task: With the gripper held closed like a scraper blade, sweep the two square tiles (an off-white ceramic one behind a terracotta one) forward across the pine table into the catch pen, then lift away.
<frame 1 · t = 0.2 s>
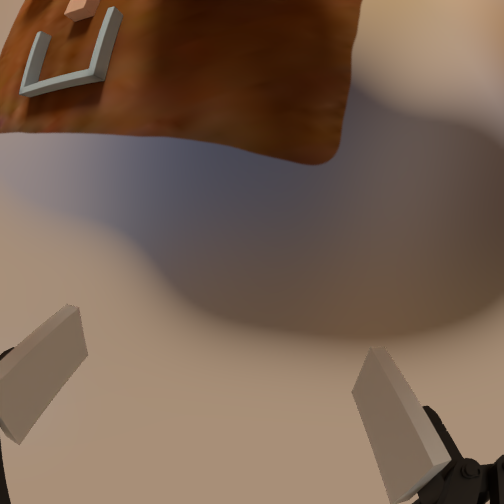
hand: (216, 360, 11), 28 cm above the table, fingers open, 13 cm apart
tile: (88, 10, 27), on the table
catch pen: (71, 55, 30), on the table
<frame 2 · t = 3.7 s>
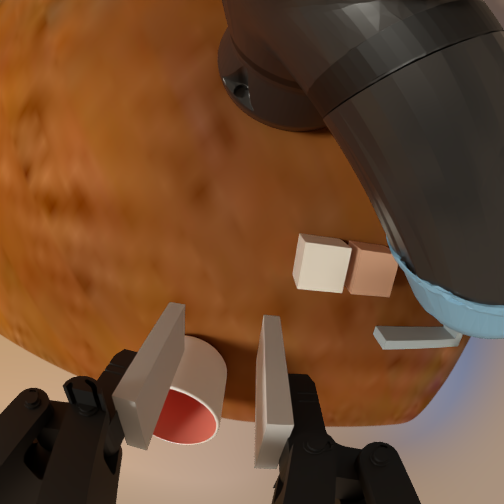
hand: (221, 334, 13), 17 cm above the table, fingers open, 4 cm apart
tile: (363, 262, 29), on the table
cup: (189, 362, 34), on the table
catch pen: (434, 271, 29), on the table
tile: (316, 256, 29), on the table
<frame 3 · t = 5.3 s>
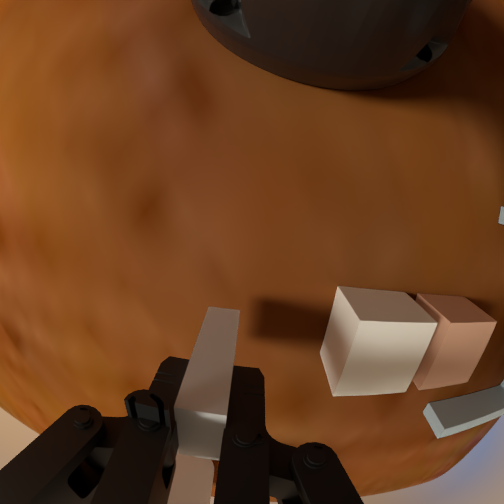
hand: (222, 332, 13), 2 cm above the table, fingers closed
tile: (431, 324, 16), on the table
cup: (162, 447, 20), on the table
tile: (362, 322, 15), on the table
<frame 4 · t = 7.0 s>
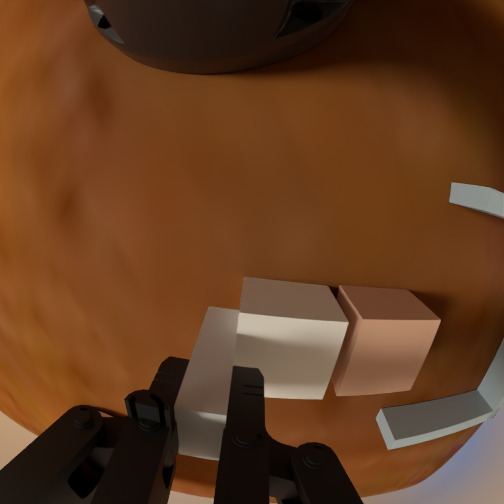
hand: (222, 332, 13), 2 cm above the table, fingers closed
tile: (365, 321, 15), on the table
catch pen: (479, 321, 15), on the table
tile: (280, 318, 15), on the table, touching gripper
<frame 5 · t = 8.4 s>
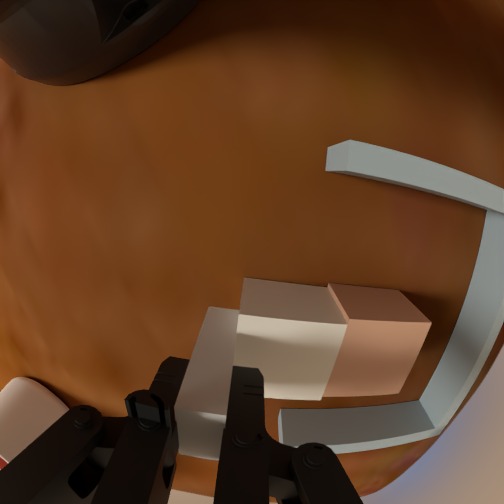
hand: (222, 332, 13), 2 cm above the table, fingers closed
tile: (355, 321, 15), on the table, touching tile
cup: (50, 407, 20), on the table
catch pen: (401, 319, 15), on the table
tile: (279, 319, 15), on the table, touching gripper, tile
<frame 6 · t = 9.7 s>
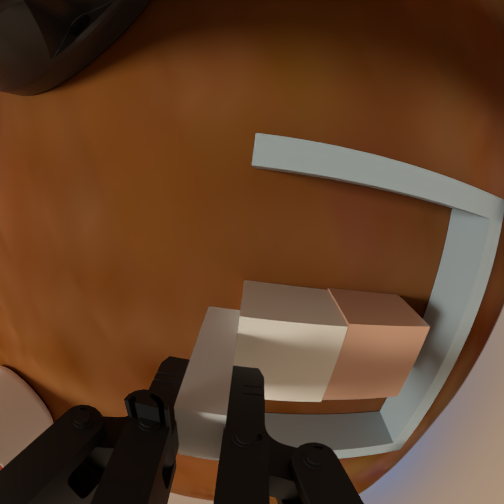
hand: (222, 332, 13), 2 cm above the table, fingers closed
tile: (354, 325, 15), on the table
cup: (24, 396, 19), on the table
catch pen: (348, 325, 15), on the table
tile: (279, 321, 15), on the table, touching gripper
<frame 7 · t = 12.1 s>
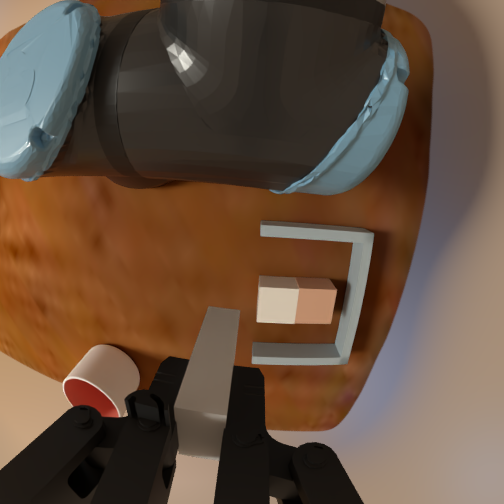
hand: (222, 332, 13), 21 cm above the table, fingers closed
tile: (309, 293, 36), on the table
cup: (115, 365, 40), on the table
catch pen: (306, 293, 36), on the table
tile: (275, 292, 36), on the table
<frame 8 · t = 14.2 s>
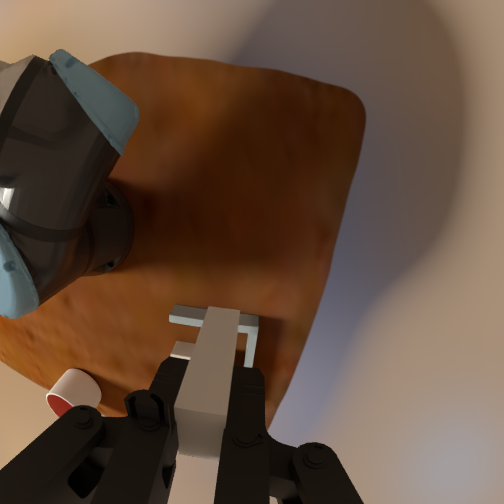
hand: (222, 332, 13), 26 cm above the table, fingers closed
cup: (85, 383, 49), on the table
catch pen: (213, 356, 45), on the table
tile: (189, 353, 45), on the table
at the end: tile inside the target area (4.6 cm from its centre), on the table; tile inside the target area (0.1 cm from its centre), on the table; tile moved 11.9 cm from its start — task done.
